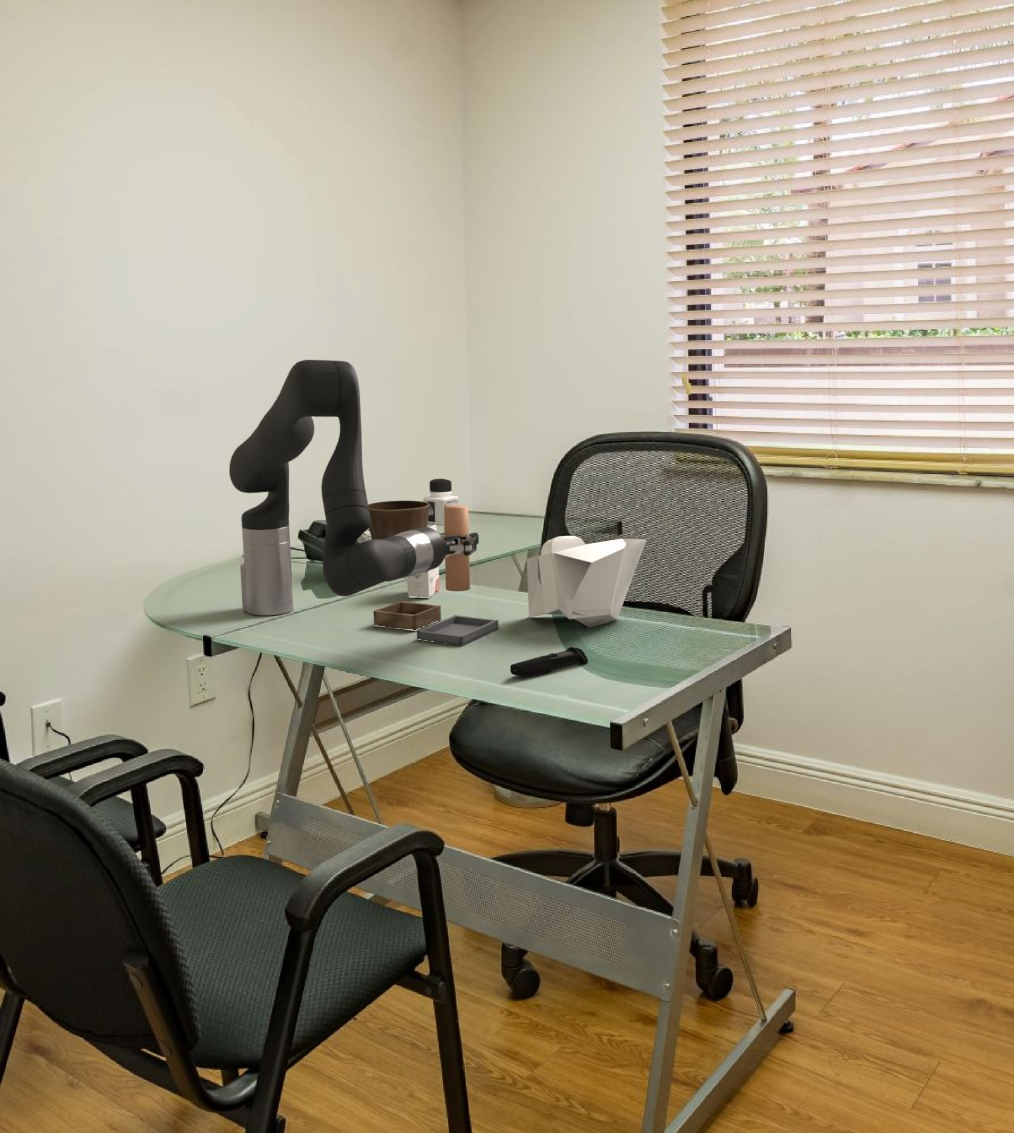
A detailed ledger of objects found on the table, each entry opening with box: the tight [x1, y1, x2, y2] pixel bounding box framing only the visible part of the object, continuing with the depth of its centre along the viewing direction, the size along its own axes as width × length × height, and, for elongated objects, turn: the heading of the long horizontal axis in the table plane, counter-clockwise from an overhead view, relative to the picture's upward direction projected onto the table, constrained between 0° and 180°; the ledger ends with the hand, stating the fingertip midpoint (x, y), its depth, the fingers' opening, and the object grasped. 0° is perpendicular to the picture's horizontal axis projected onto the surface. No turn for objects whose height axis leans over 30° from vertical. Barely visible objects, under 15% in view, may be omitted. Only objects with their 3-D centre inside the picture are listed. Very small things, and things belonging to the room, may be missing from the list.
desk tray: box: [416, 614, 499, 647], centre depth 209 cm, size 9×13×2 cm
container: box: [422, 478, 460, 526], centre depth 338 cm, size 8×8×13 cm
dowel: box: [443, 504, 471, 592], centre depth 206 cm, size 4×4×15 cm
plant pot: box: [368, 500, 430, 540], centre depth 265 cm, size 15×15×16 cm
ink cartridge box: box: [406, 524, 440, 597], centre depth 242 cm, size 9×5×15 cm, turn 168°
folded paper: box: [526, 535, 647, 629], centre depth 217 cm, size 17×24×17 cm
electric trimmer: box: [509, 646, 589, 678], centre depth 186 cm, size 4×16×3 cm, turn 131°
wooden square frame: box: [373, 600, 442, 630], centre depth 218 cm, size 9×9×3 cm
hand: (464, 537), depth 208 cm, fingers closed on dowel, 4 cm apart
